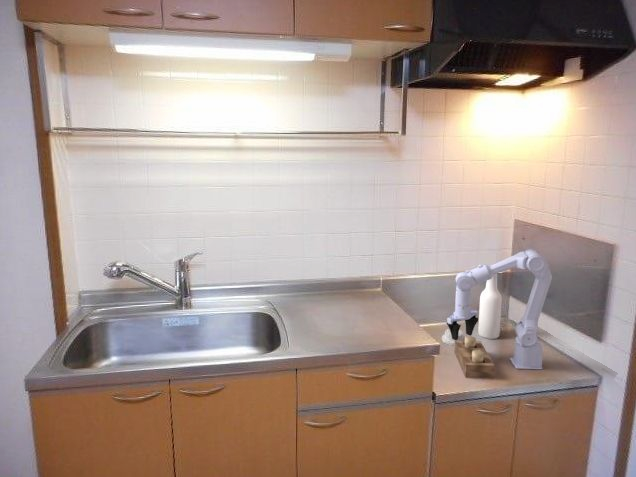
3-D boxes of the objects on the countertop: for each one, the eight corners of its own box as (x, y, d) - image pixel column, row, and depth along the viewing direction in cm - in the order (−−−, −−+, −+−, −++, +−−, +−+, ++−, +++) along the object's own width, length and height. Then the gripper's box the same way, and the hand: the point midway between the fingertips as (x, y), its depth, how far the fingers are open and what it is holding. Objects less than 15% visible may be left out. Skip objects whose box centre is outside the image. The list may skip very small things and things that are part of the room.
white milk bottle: (484, 329, 206) (487, 265, 199) (503, 335, 199) (507, 269, 193) (474, 335, 200) (477, 269, 193) (493, 341, 194) (497, 273, 187)
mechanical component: (469, 340, 196) (447, 334, 202) (470, 330, 195) (448, 324, 201) (460, 348, 189) (437, 342, 195) (460, 338, 188) (438, 332, 194)
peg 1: (473, 347, 181) (474, 336, 180) (476, 352, 178) (476, 340, 177) (463, 347, 182) (463, 336, 181) (465, 351, 178) (466, 340, 177)
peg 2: (481, 361, 170) (482, 350, 169) (484, 367, 166) (485, 355, 165) (470, 361, 170) (471, 349, 169) (473, 366, 166) (473, 354, 165)
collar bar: (479, 352, 184) (480, 341, 183) (493, 378, 164) (494, 365, 163) (454, 352, 185) (454, 340, 184) (465, 377, 165) (466, 364, 164)
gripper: (468, 297, 181) (467, 329, 183) (441, 304, 174) (440, 337, 176) (482, 302, 175) (481, 335, 177) (455, 310, 168) (454, 344, 170)
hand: (461, 337), depth 177 cm, fingers open, 7 cm apart
